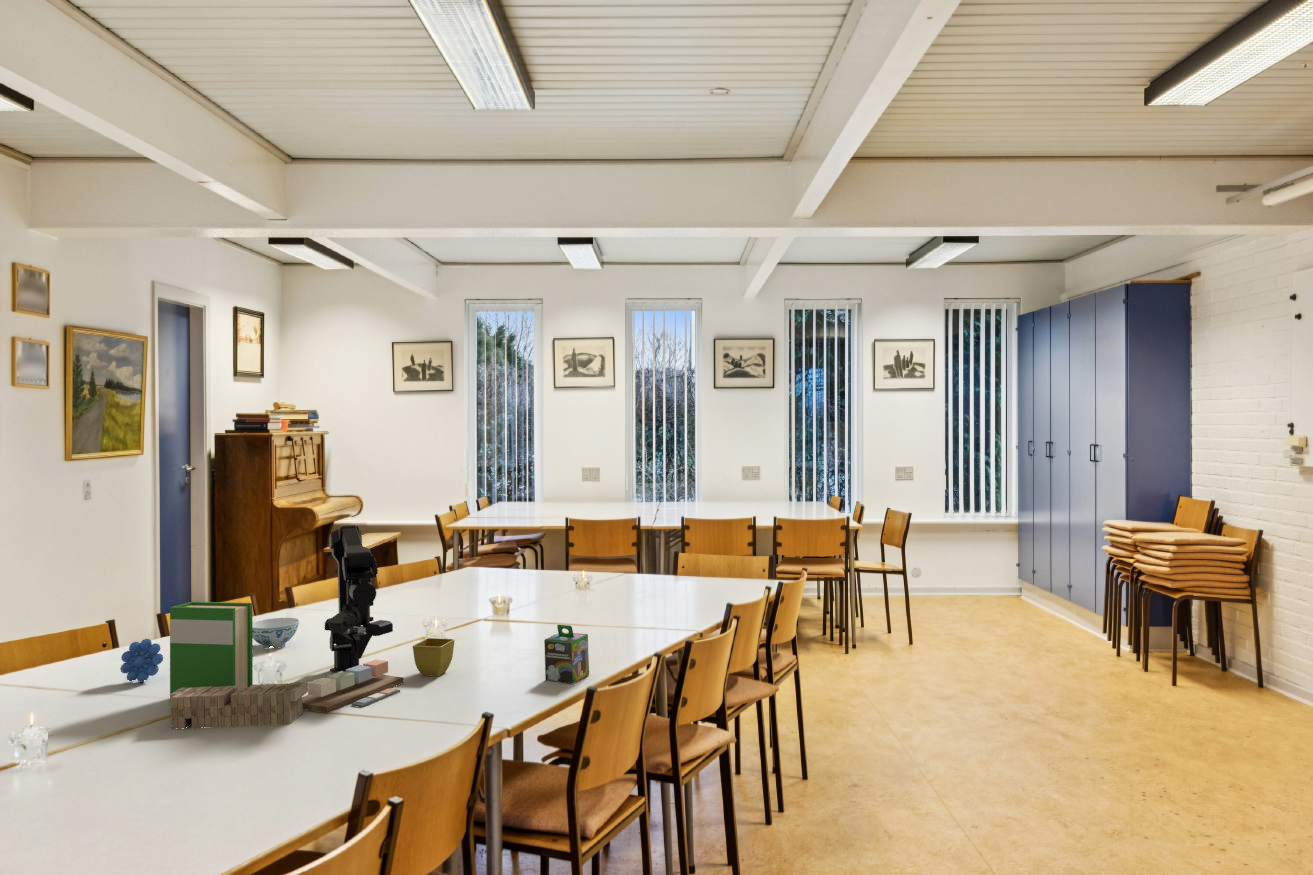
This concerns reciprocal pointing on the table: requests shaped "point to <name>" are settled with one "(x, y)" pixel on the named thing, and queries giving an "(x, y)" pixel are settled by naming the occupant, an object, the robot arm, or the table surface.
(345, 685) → the key sage
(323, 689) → the key cream
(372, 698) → the strip
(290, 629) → the chinaware
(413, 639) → the table surface
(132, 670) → the blue flower ornament
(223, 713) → the block tower
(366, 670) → the key slate
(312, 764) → the table surface
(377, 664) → the key terracotta
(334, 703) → the brown wooden board
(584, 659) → the chalk box
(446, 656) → the flower pot
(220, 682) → the hardback book
